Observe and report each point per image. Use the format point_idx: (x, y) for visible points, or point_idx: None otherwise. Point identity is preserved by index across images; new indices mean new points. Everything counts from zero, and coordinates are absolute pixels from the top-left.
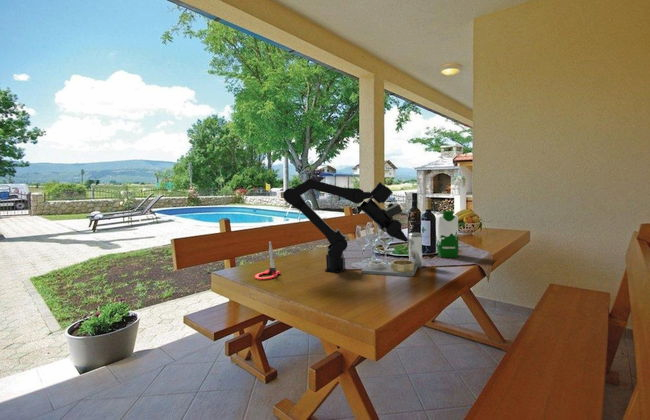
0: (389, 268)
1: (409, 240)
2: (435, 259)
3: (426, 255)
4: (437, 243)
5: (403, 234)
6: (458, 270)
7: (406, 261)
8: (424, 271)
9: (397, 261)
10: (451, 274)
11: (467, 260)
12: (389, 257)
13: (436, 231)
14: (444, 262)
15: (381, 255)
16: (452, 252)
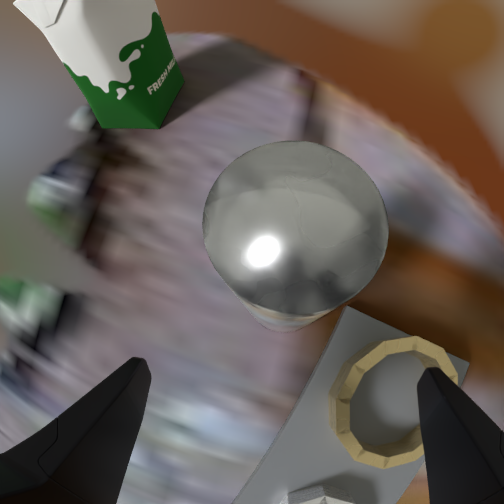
0: (356, 462)
1: (311, 318)
2: (179, 156)
3: (98, 173)
4: (109, 95)
5: (494, 431)
6: (388, 144)
7: (364, 371)
8: (397, 285)
9: (348, 426)
10: (443, 194)
11: (240, 68)
12: (68, 360)
13: (69, 56)
14: (246, 139)
15: (31, 376)
16: (174, 79)
